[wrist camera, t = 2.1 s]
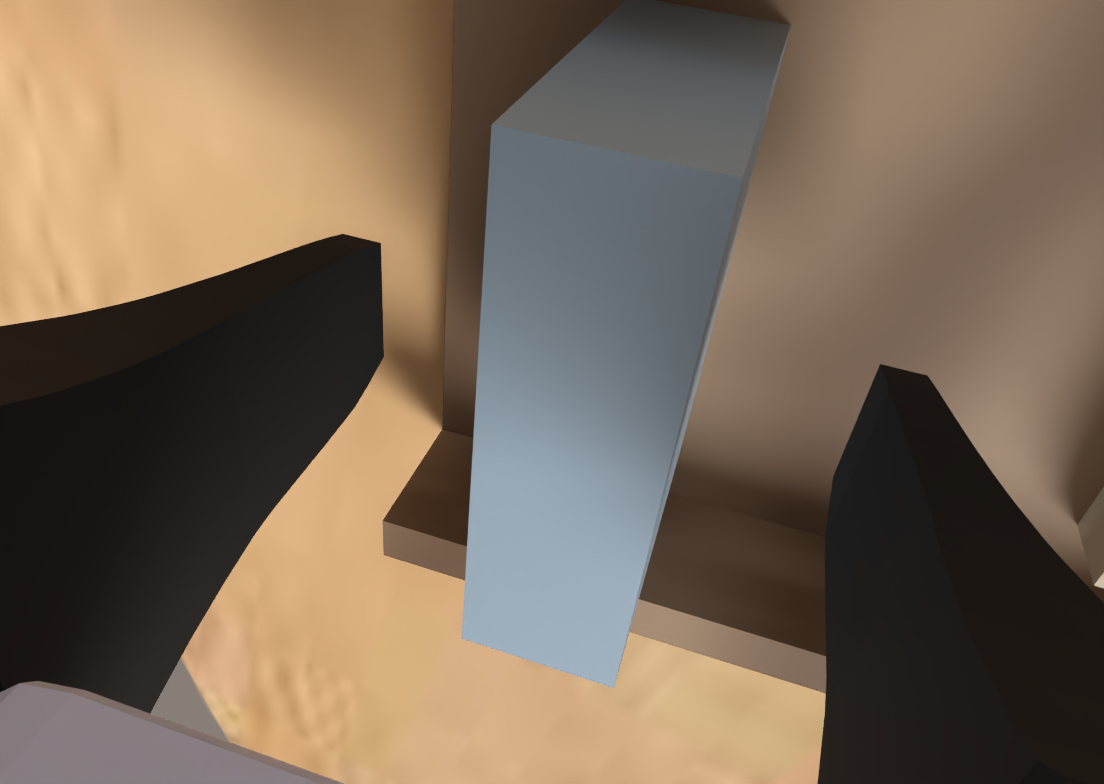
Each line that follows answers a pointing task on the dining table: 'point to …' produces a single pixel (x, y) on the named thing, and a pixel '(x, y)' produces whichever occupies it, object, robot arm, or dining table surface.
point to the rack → (833, 292)
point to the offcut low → (1094, 538)
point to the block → (602, 316)
